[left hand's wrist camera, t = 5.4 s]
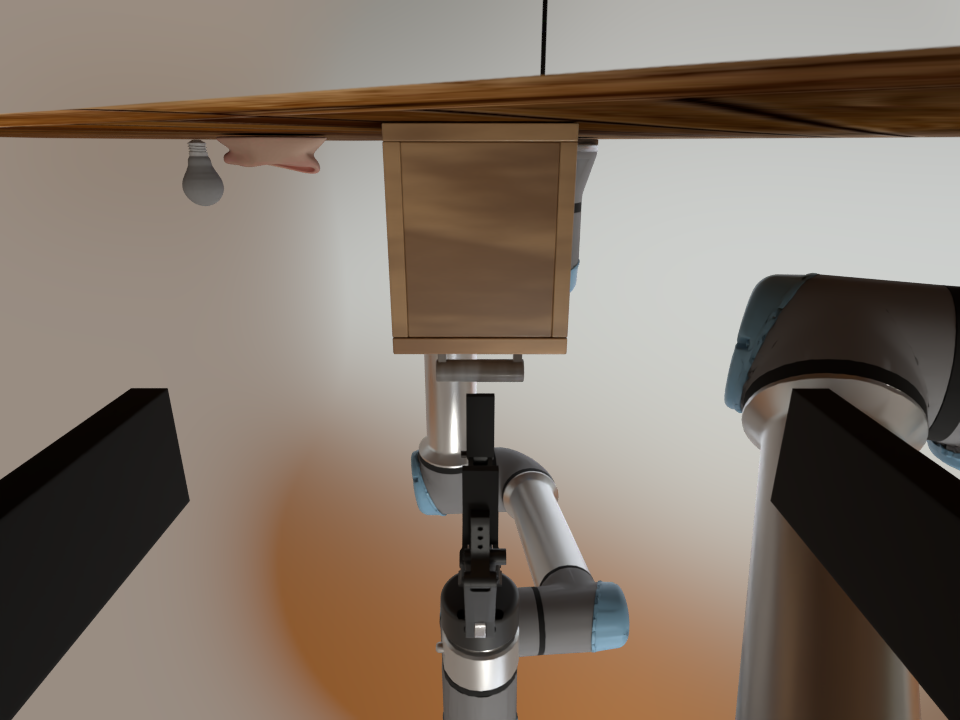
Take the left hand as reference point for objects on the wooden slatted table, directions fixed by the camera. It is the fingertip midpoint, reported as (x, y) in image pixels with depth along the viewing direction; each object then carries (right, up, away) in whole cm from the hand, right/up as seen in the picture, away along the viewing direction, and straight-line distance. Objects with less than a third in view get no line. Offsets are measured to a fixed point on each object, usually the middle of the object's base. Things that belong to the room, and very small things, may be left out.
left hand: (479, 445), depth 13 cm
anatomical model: (-22, +26, +50) cm, 60 cm away
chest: (0, +16, +23) cm, 28 cm away
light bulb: (-44, +36, +79) cm, 98 cm away
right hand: (0, -4, +37) cm, 38 cm away
